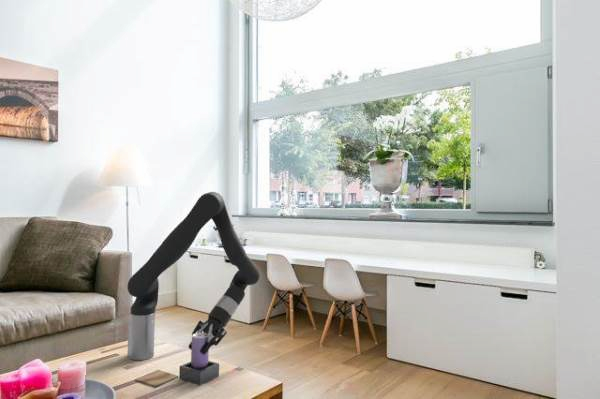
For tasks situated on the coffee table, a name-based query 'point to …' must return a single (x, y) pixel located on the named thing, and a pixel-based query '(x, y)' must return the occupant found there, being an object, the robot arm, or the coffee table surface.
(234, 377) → the coffee table surface
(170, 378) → the walnut coaster
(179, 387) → the coffee table surface
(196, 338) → the beverage can
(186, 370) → the square socket
